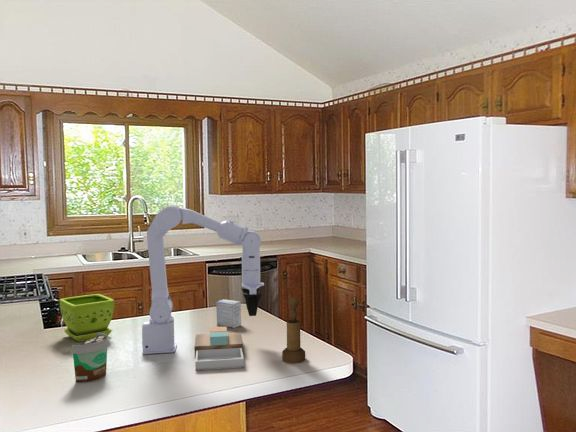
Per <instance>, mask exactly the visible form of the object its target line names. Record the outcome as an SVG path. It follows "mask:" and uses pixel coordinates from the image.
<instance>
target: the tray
mask: <svg viewBox="0 0 576 432" xmlns="http://www.w3.org/2000/svg"><path fill="white" fill-rule="evenodd" d="M194 359H195V360H194V361H195V364H194V365H195V366H194V368H195V371H197V372H198V371H212V370H213V371H214V370H227V369H229V370H230V369H242V368H243V369H244V368H245V365H244V364H245V359H244V351H243V352H242V348H227V349H210V350H196V358H194Z"/></svg>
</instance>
